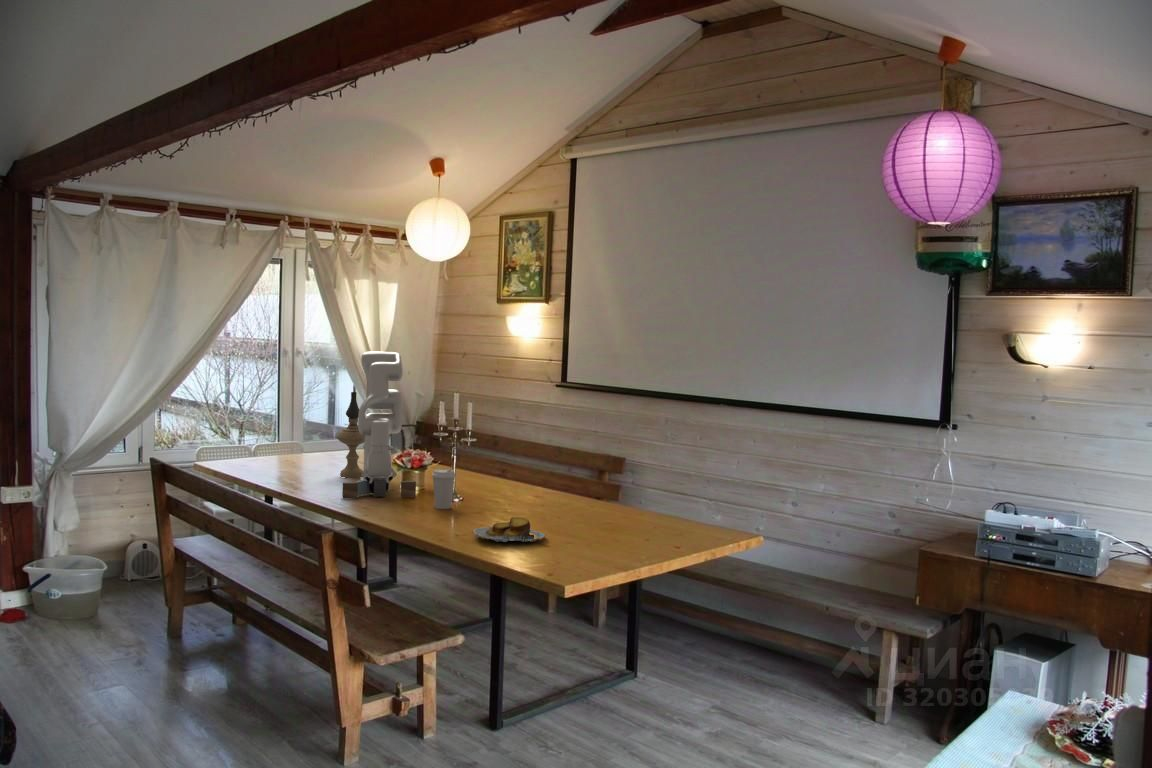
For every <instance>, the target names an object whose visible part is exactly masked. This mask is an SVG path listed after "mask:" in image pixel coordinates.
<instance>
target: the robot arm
mask: <svg viewBox="0 0 1152 768" xmlns="http://www.w3.org/2000/svg"><path fill="white" fill-rule="evenodd" d="M360 360H361V367H362V370H363V372H364V376H365V380H366V396H365V397H366V399H364V400H363V402H362V403H361V405H360V406H359V415H358V422H357V425H358V428H359V432H360V434H361V435H364V443H363V445H364V446H363V471H364V472H363V473H362V474H361V476H362V478H359V481H362V480H367V481H368V482H369V491H371V494H372V493H373V478H374V477H385V479H386V493H388V491H389V490H388V484H389V485H390V482H391V481H392V480H393V479H394V478H395V477H397V475H398V473H397V472H396V471H395V470H394V469H393V468H392V467H393V466H392V454H391V452H390V451H392V450H393V446H390V435H391V434H399V433H400V432H401V430H402V427H403V426H402V424H403V423H402V420H403V417H402V416H403V398H402V394H401V392H400V391H399V390H398V389H390V388H389V386H390V385H389V383H390V382H399V381H401V380H402V379H403V375H404V374H403V363H402V356H401V355H400V353H399V352H394V351H365V352H364V353H362V355H361V359H360ZM368 409H370V410H372V411H391V412H369V413H367V414H366V412H367V410H368ZM388 476H389V478H388Z"/></svg>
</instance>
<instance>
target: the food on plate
mask: <svg viewBox="0 0 1152 768" xmlns="http://www.w3.org/2000/svg"><path fill="white" fill-rule="evenodd" d="M472 533H473V534H474V535H477V537H476V539H478V538H481V539H484V540H485V539H486V540H492V541H495V542H503V543H507V542H508V541H512V542H513V541H517V542H518V541H520V542H521V543H527V542H529V541H530V542H531V543H532V542H536V541H543V540H544V539H545V537H546V536H547V535H546V534H545V533H543V532H541V531H537V530H534V529H531V523H530V521H529V520H528V518H525V517H515V516H512V517H511V518H510V519H509V522H496V523H494V524H492V526H487V527H486V526H483V527H480V528H474V529H473V530H472ZM529 533H533V534H535V535H536V536H537V538H536V539H534V535H530V534H529Z"/></svg>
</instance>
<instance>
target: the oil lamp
mask: <svg viewBox="0 0 1152 768" xmlns="http://www.w3.org/2000/svg"><path fill="white" fill-rule="evenodd" d="M350 396H351V397H350V403H349V405H348V408H347V409H346V411H345V415H346V417H347V418H348V424H347V423H344V426H346V425H347V426H346V427H344V428H342V430H340V431H339V432H338V433H337V434H336V439H337V440H338V441H339V442H340V443H342V444H345V445H346V446H347V447H348V449H349V451H348V453H347V455H346V456H345V459H346V461H347V463H346V465H345V467H344V468H343V469H342V470H340V473H339V477H340V476H341V477H345V478H344V479H347V478H356V479H360V477H362V476H361V474H362V473H363V472H364V469H361V468H360V466H359V465H358V460H359V458H360V455H358V453H357V448H358V446H359V445H361V444H364V435H361V434H360V432H359V428H358V415H359V409H360V407H359V406H358V402H357V401H358V400H357V391H351V392H350ZM341 477H340V478H341Z"/></svg>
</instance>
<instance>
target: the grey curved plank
mask: <svg viewBox="0 0 1152 768" xmlns="http://www.w3.org/2000/svg"><path fill="white" fill-rule="evenodd" d="M389 477H390V476H388V478H389ZM384 478H385V477H384ZM355 482H358V497H359V496H366V495H371V494H372V493H371V491H369V482H368V481H367V480H362V481H360V480H357V481H355ZM389 490H390V483H389V484H388V490H387V491H389Z"/></svg>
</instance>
